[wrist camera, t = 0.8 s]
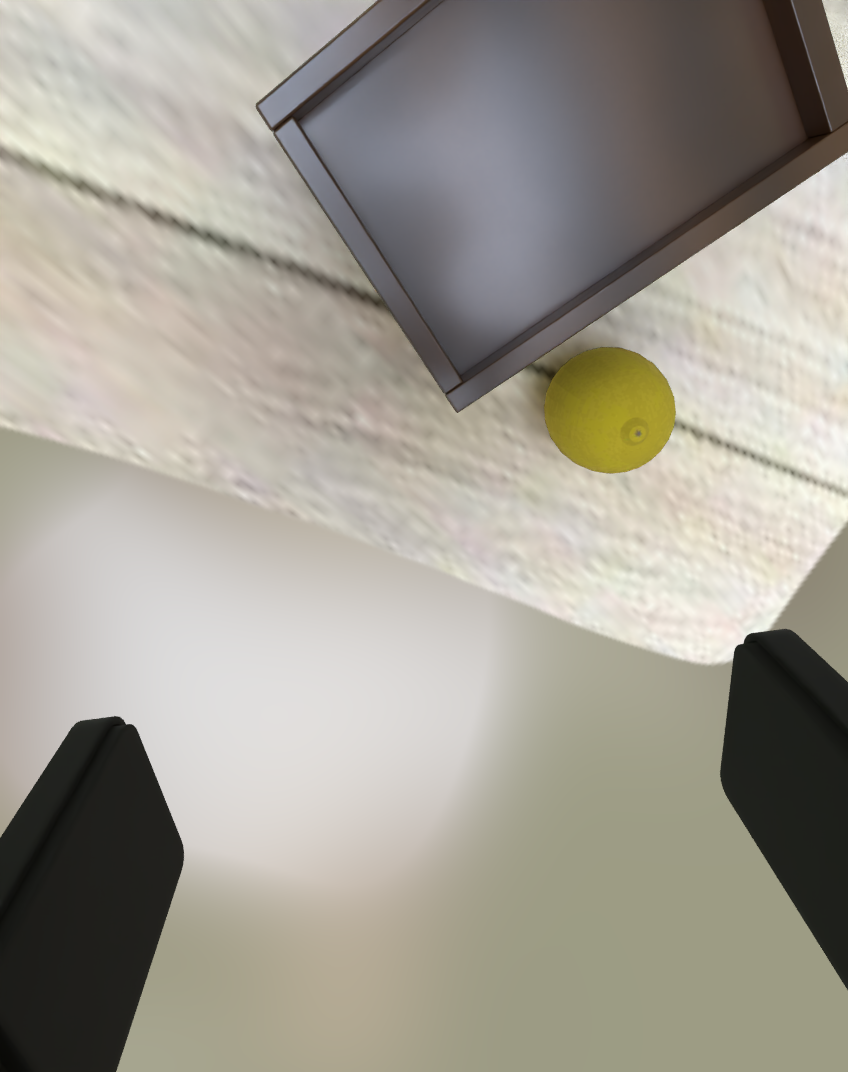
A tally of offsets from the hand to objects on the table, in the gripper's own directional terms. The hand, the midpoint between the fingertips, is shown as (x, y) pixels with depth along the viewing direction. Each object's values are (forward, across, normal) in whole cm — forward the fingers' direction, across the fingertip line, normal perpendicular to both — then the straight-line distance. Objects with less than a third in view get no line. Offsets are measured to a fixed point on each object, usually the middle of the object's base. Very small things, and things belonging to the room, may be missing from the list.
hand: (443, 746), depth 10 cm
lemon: (+25, -9, +1) cm, 27 cm away
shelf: (+24, -6, -10) cm, 27 cm away
